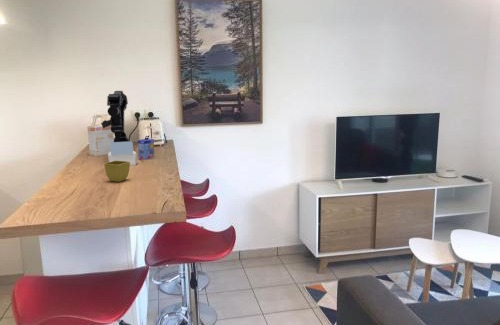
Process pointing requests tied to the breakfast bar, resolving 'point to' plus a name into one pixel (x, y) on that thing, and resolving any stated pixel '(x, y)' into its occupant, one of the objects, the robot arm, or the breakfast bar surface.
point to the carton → (123, 158)
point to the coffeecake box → (100, 140)
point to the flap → (121, 148)
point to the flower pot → (117, 170)
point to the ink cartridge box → (146, 148)
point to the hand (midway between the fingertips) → (117, 141)
